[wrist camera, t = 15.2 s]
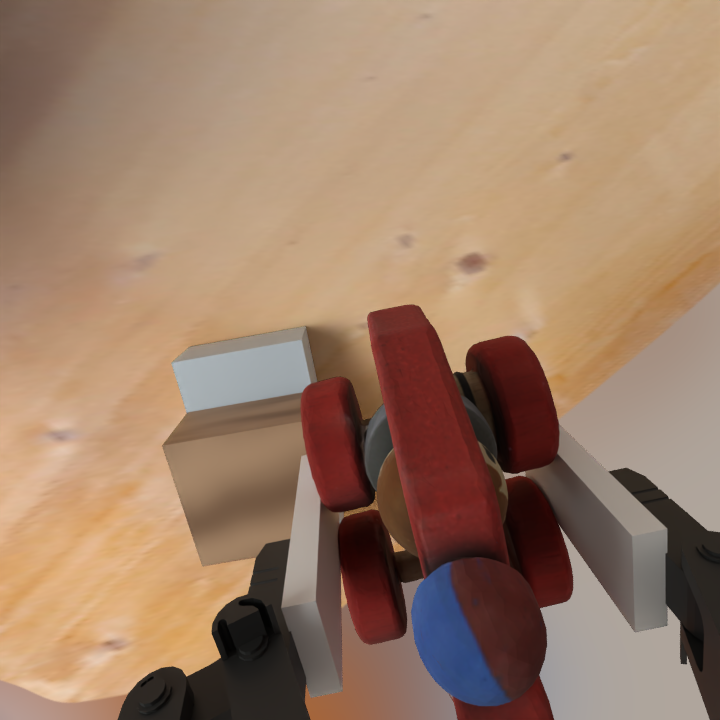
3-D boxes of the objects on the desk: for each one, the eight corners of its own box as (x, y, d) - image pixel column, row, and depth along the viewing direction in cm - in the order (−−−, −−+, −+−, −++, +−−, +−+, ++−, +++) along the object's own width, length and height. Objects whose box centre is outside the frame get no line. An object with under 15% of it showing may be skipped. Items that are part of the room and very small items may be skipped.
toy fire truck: (495, 266, 15) (795, 377, 5) (536, 571, 19) (754, 964, 9) (284, 316, 15) (194, 514, 5) (367, 608, 19) (402, 1036, 9)
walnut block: (187, 412, 33) (162, 445, 29) (313, 390, 33) (309, 420, 28) (220, 519, 36) (202, 566, 31) (337, 499, 36) (336, 543, 31)
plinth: (189, 346, 36) (171, 362, 32) (305, 326, 36) (301, 339, 32) (240, 522, 41) (230, 554, 37) (343, 505, 41) (343, 535, 37)
